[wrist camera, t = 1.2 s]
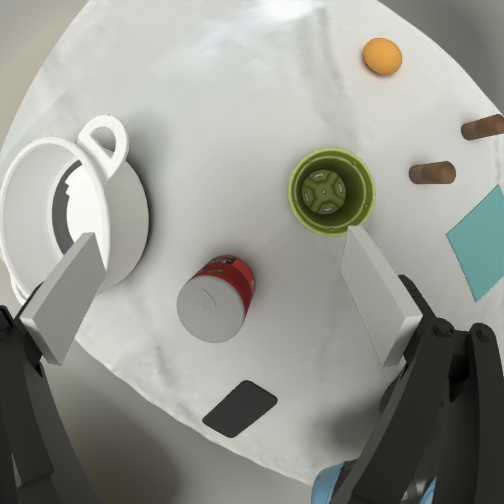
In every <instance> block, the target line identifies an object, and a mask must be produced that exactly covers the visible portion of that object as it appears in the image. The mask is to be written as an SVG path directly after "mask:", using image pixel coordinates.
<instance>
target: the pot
mask: <svg viewBox="0 0 504 504" xmlns="http://www.w3.org/2000/svg"><path fill="white" fill-rule="evenodd" d="M105 127H107V128H109V129H111V130H112V132H113V133H114V135H115V138H116V147H115V151H114V152H112V151H110V150H108V149H106V148H103V147H102V146H101V145H100V144H99V142H98V141H97V140H96V139H95V138H94V137H93V136H92V135H93V134H94V133H95V132H96V131H97V130H98V129H101V128H105ZM78 138H79V139H78V140H77V142H76V143H73V142H71V141H69V140H67V139H65V138H63V137H57V136H47V137H41V138H39V139H37V140H34V141H32V142H30V143H29V144H28V145H27V146H26V147H24V148H23V149H22V150H21V151H20V152H19V153H18V155H17V156H16V157H15V159H14V160H13V161H12V163H11V165H10V167H9V169H8V171H7V173H6V175H5V178H4V181H3V184H2V187H1V191H0V247H1V250H2V254H3V258H4V261H5V263H6V266H7V268H8V270H9V273H10V274H11V285H12V289H13V290H14V293H15V296H16V297H17V299H18V301H19V302H20V303H21V304H22V305H24V303H25V302H27V299H28V298H29V296H31V293H32V292H33V291H34V289H35V288H36V287H37V286H38V285H39V284H41V283H42V282H43V281H45V280H46V278H47V277H48V276H49V274H50V273H51V272H52V270H53V269H54V268H55V266H56V265H57V264H58V263H59V261H60V260H61V259H62V257H63V256H64V255H65V254H66V253H67V251H68V250H69V249H70V248H71V246H72V245H73V244H74V243H75V242H76V240H77V239H78V238H79V237H80V236H81V235H82V233H87V232H95V236H96V239H97V243H98V247H99V250H100V254H101V257H102V260H103V264H104V267H105V270H106V273H107V275H106V277H105V279H104V281H103V283H102V284H101V286H100V288H99V290H98V292H97V294H96V295H95V297H96V296H97V295H99V294H100V293H102V292H104V291H105V290H107V289H109V288H110V287H112V286H114V285H115V284H117V283H119V282H120V281H122V280H123V279H124V278H125V277H126V276H127V275H128V274H129V273H130V272H131V271H132V270H133V269H134V267H135V266H136V264H137V263H138V261H139V260H140V258H141V255H142V253H143V250H144V248H145V244H146V239H147V234H148V221H149V215H148V207H147V200H146V196H145V193H144V190H143V186H142V184H141V182H140V180H139V178H138V176H137V174H136V173H135V171H134V170H133V169H132V167H131V166H130V165H129V163H128V162H126V161H125V160H126V157H127V154H128V152H129V144H130V141H129V134H128V132H127V129H126V126H125V125H124V124H123V122H122V121H121V120H120V119H118V118H117V117H114V116H111V115H109V114H106V115H100V116H97V117H95V118H93V119H92V120H90V121H89V122H88V123H87V124H86V125H85V127H84V128H83V129H82V130H81V132H80V133H79V135H78ZM22 293H23V294H22ZM24 296H25V297H26V298H25V297H24ZM95 297H94V299H95ZM94 299H93V300H94Z"/></svg>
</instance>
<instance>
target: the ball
mask: <svg viewBox="0 0 504 504" xmlns="http://www.w3.org/2000/svg"><path fill="white" fill-rule="evenodd" d="M363 56H364V59H365V62H366V63H367V65H368V66H369V67H370V68H371V69H372V70H373V71H375V72H377V73H380V74H391V73H394V72H396V71H397V70H398V69H399V68H400V66H401V64H402V54H401V51H400V49H399V48H398V47H397V45H396V44H395V43H393V42H392V41H390V40H388V39H385V38H375V39H372V40H370V41H369V42H368V43H367V44H366V45H365V47H364V51H363Z"/></svg>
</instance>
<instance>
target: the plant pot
mask: <svg viewBox="0 0 504 504" xmlns="http://www.w3.org/2000/svg"><path fill="white" fill-rule="evenodd" d="M320 173H323V174H324V176H318V177H316V178H315V177H314V176H315V175H316V174H320ZM338 183H340V184H341V187H342V193H340V188H339V185H338ZM323 190H325V191H326V194H323V193H322V191H323ZM305 192H307V194H308V199H309V202H308V201H307V200H306V197H305ZM375 195H376V192H375V184H374V180H373V177H372V175H371V173H370V171H369V169H368V167H367V166H366V165H365V163H364V162H363V161H362V160H361V159H360V158H358V157H357V156H356V155H354V154H353V153H351V152H349V151H346V150H343V149H339V148H323V149H319V150H316V151H314V152H312V153H310V154H308V155H307V156H305V157H304V158H303V159H302V160H301V161H300V162H299V163H298V164H297V165H296V167H295V168H294V170H293V172H292V174H291V176H290V179H289V184H288V199H289V203H290V206H291V209H292V211H293V213H294V215H295V216H296V218H297V219H298V220H299V221H300V223H301V224H302V225H303V226H305V227H306V228H307V229H309V230H310V231H312V232H314V233H316V234H319V235H322V236H327V237H338V236H343V235H346V234H347V230H348V226H361V225H363V224H364V223H365V221H366V220H367V219H368V217H369V216H370V214H371V212H372V209H373V206H374V202H375ZM332 207H333V209H331V210H330V211H324V210H323V209H327V208H332Z"/></svg>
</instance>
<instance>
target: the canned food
mask: <svg viewBox="0 0 504 504" xmlns="http://www.w3.org/2000/svg"><path fill="white" fill-rule="evenodd" d="M254 289H255V281H254V277H253V274H252V272H251V270H250V269H249V268H248V266H247V265H246V264H245V263H244V262H243V261H241V260H239V259H237V258H235V257H232V256H220V257H216V258H214V259H212V260H211V261H210V262H208V263H207V264H206V265H205V266H204V267H203V268H202V269H201V270H200V271H198V272H197V273H196V274H195V275H194V276H193V277H192V278H191V279H190V280H189V281H188V282H187V283H186V284H185V285H184V286H183V288H182V289H181V291H180V293H179V295H178V299H177V312H178V316H179V318H180V321H181V322H182V324H183V326H184V327H185V328H186V330H187V331H188V332H189V333H191V334H192V335H193V336H195V337H196V338H198V339H200V340H202V341H205V342H210V343H220V342H225V341H227V340H230V339H231V338H233V337H234V336H235V335H236V334H237V333H238V332H239V330H240V329H241V327H242V325H243V322H244V320H245V317H246V314H247V311H248V308H249V305H250V302H251V299H252V296H253V293H254Z"/></svg>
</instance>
